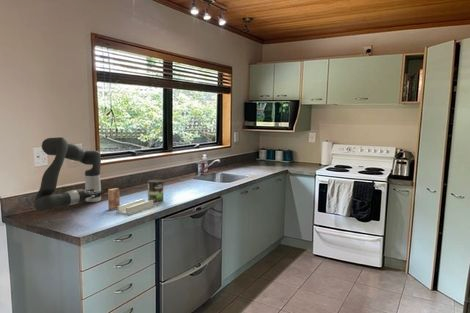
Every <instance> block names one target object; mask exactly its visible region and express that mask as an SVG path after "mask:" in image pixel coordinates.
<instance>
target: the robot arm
mask: <svg viewBox="0 0 470 313" xmlns="http://www.w3.org/2000/svg"><path fill="white" fill-rule="evenodd" d="M41 149H42V152H44V154H46V155H48V156H55V157H54V159H53V160H52V162H51V163H50V165H49V166H48V167H47V169H45V171H44V172H43V175H42V176H41V177H42V178H41V182H40V188H39V189H38V192H37V194H36V196H35V199H34V201H33V202H34V203H33V206H34V208H35V210H36V211H37V212H41V213H42V212H46V211H50V210H53V209H56V208H62V207H66V206H72V205H76V204H77V205H78V204H81V203H84V202H87V203H96V202H97V203H98V202H100V201H101V200H102V196H103V195H105V190H102V186H101V159H102V158H101V157H102V156H101V152H100V151H99V150H84V148H83V147H81V146H79V145H77V144H73V143H68V140H67V139H66V138H65V137H48V138H45V139H43V141H42V143H41ZM65 159H67V160H70V161H74V162H80V163H81V164H83V165H89V166H91V165H92V167H91V168H90V169H86V170H85V171H84V183H85V184H84V186H85V187H84V189H82V188H77V189H72V190H71V189H70V190H67V191H65V192H60V193H54V192H56V190H57V185H58V179H59V176H60V173H61V172H60V171H61V168H62V167H63V164H64V161H65ZM53 193H54V194H53Z"/></svg>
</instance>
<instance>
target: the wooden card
mask: <svg viewBox="0 0 470 313" xmlns="http://www.w3.org/2000/svg"><path fill="white" fill-rule="evenodd" d="M107 198H108V199H107V200H108V202H107V203H108V210H110V211H113V210H117V206H120V203H121V202H120V198H121V197H120V188H118V187H114V188H109V189H108V190H107Z"/></svg>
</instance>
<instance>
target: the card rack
mask: <svg viewBox="0 0 470 313" xmlns="http://www.w3.org/2000/svg"><path fill="white" fill-rule="evenodd" d="M155 206H156V205H155V204H153V200H149V201H148V200H147V201H146V198H141V199H137V200H134V201H131V202H127V203H124V204H121V205H120V206H117V209H116V211H115V212H116V214H121V215H127V216H131V215H133V214H136V213H140V212H142V211H146V210H148V209H150V208H151V209H152V208H155Z"/></svg>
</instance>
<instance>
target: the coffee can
mask: <svg viewBox="0 0 470 313" xmlns="http://www.w3.org/2000/svg"><path fill="white" fill-rule="evenodd" d="M149 200H153V205H155V204H161V203H164V180H163V179H158V178H157V179H156V178H155V179H148V180H147V201H149Z"/></svg>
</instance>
